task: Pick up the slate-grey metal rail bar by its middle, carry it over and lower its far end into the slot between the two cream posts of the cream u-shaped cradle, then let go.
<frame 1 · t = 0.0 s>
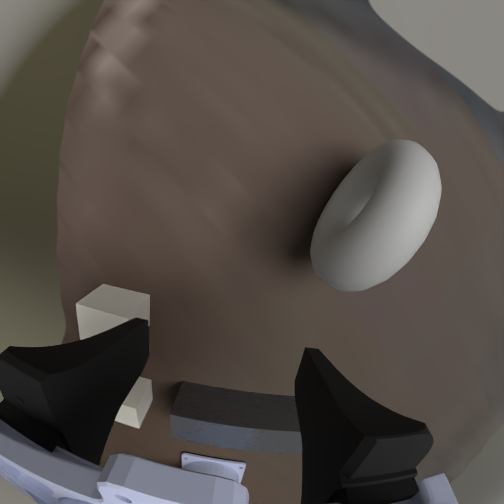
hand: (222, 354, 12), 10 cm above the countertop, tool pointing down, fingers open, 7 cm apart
cream u-shaped cradle: (133, 350, 24), on the countertop
rail: (262, 404, 25), on the countertop
donut: (346, 204, 20), on the countertop
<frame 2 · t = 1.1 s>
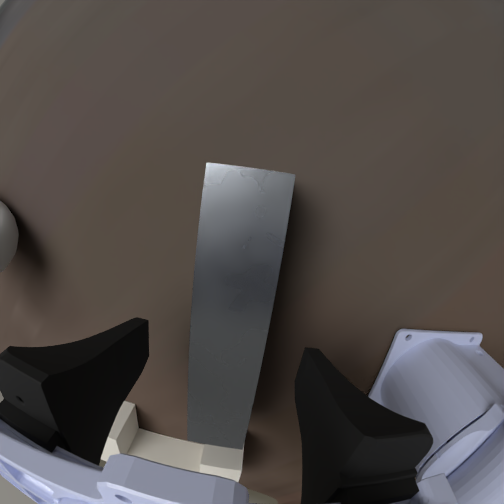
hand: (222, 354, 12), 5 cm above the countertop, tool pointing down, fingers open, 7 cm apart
cream u-shaped cradle: (171, 426, 20), on the countertop
rail: (236, 304, 18), on the countertop
donut: (9, 217, 17), on the countertop
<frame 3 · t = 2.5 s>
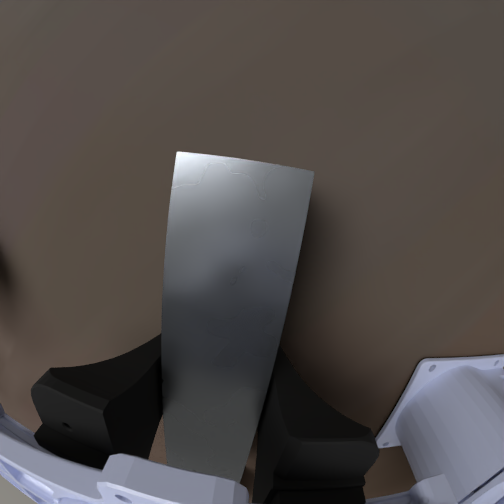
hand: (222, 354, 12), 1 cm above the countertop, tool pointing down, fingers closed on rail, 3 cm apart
rail: (226, 337, 14), on the countertop, touching gripper
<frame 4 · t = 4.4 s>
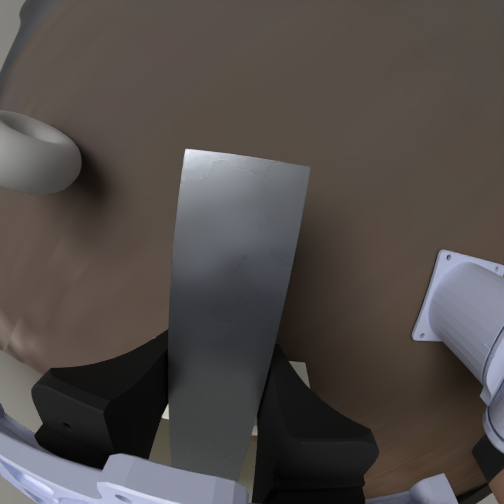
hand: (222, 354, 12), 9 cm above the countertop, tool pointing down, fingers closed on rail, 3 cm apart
cream u-shaped cradle: (226, 368, 22), on the countertop
travel mug: (487, 439, 26), on the countertop
rail: (228, 326, 14), point 6 cm above the countertop, touching gripper
donut: (65, 151, 18), on the countertop
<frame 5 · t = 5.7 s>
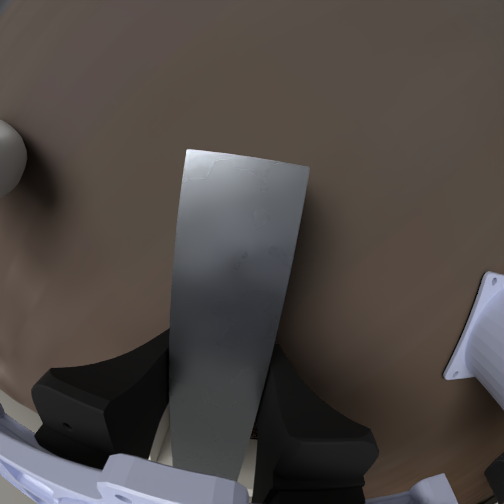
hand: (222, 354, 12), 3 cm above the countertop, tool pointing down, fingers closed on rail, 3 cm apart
cream u-shaped cradle: (216, 418, 16), on the countertop
travel mug: (500, 459, 21), on the countertop
rail: (229, 325, 14), resting in cream u-shaped cradle, touching gripper
donut: (16, 148, 13), on the countertop
when the fingers open (3 cm above the countertop, at t = 6.4 s): rail stays where it is, resting in cream u-shaped cradle.
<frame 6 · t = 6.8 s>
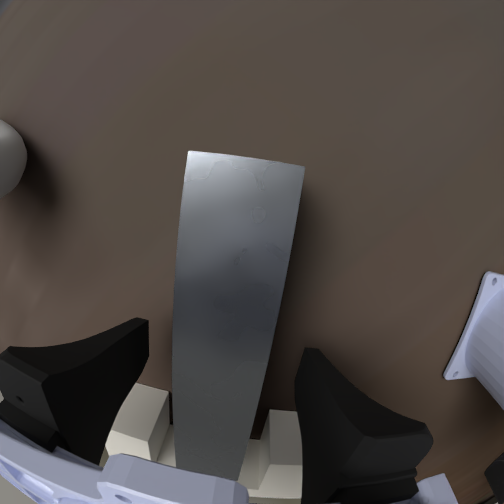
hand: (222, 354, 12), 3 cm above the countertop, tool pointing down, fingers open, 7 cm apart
cream u-shaped cradle: (216, 418, 16), on the countertop
travel mug: (500, 459, 21), on the countertop
rail: (230, 321, 15), resting in cream u-shaped cradle
donut: (16, 148, 13), on the countertop
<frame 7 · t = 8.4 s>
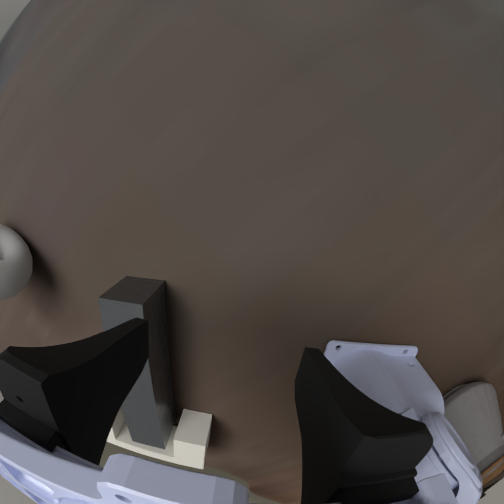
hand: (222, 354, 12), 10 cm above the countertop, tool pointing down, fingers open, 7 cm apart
cream u-shaped cradle: (154, 411, 26), on the countertop
rail: (152, 357, 24), resting in cream u-shaped cradle
donut: (23, 244, 22), on the countertop
coffee pot: (476, 377, 24), on the countertop
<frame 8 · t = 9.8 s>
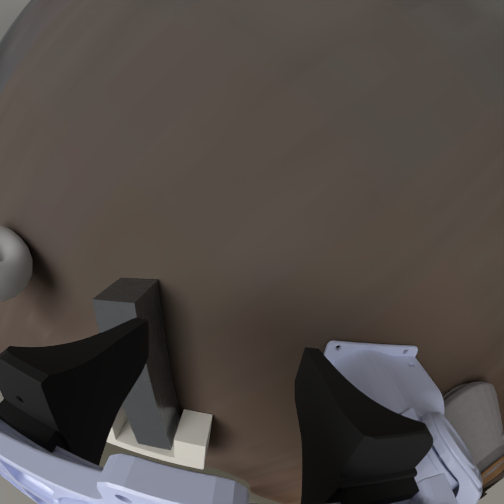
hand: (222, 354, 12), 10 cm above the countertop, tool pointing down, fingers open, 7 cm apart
cream u-shaped cradle: (155, 411, 26), on the countertop
rail: (153, 357, 24), resting in cream u-shaped cradle
donut: (23, 245, 22), on the countertop
coffee pot: (476, 376, 24), on the countertop
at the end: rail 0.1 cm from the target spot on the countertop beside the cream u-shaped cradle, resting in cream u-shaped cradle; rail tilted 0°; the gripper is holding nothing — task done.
